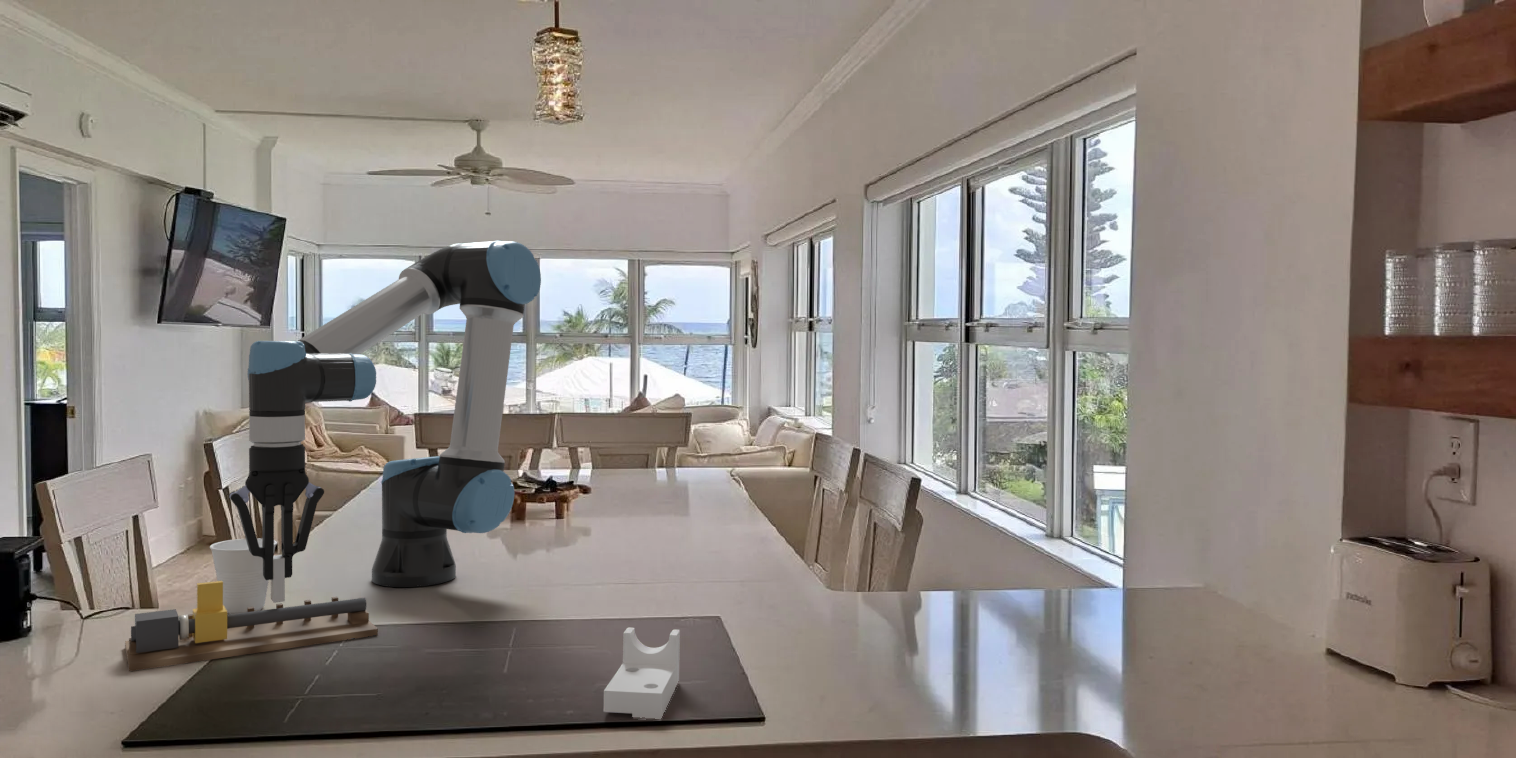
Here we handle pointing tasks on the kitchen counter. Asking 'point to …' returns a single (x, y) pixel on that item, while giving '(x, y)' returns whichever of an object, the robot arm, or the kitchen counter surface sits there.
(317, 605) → the cord
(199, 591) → the sleeve
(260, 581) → the cup
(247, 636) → the comb board
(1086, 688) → the kitchen counter surface
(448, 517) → the robot arm
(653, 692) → the bracket
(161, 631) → the connector
